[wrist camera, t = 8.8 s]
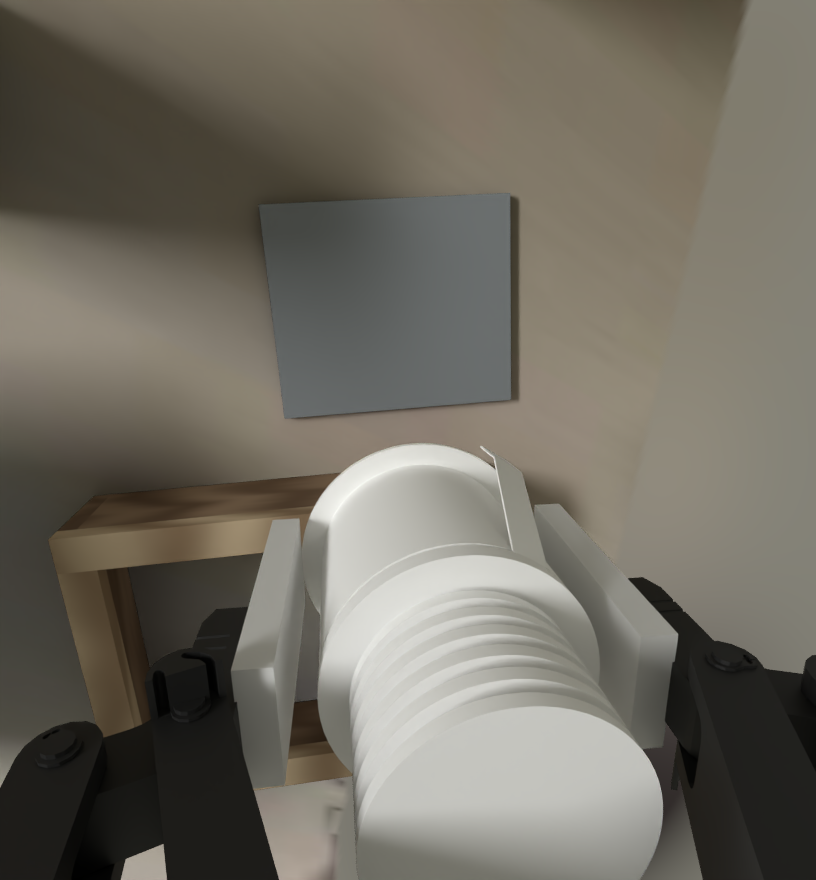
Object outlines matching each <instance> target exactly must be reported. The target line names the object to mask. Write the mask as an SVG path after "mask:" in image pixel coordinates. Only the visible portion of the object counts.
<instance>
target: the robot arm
mask: <svg viewBox="0 0 816 880" xmlns="http://www.w3.org/2000/svg"><path fill="white" fill-rule="evenodd" d="M534 519H535V523H536V526H537V530H538V534H539V538H540V541H541V545H542V549H543V553H544V556H545V560H546V562H547V564H548V565H549V566H550V567H551V569H552V570H553V571H554V572H555V574H556V575H557V576H558V577H559V579H560V580H561V581H562V582H563V584H564V585H565V586H566V587H567V589H568V590H569V591H570V592H571V593H572V595H573V596H574V597H575V598H576V599H577V601H578V602H579V603H580V605H581V606H582V608H583V609H584V611H585V612H586V614H587V616H588V618H589V620H590V622H591V624H592V627H593V629H594V632H595V635H596V639H597V643H598V648H599V656H600V674H599V683H598V686H599V687H600V689H601V690H602V691H603V693H604V694H605V696H606V697H607V699H608V700H609V702H610V703H611V705H612V706H613V708H614V709H615V711H616V712H617V713H618V715H619V716H620V718H621V719H622V721H623V722H624V724H625V725H626V727H627V728H628V729H629V731H630V733H631V734H632V736H633V737H634V738H635V740H636V741H637V743H638V744H639V746H640V747H641V749H648V748H658V747H663V742H664V735H665V727H666V723H667V725H668V726H669V728H670V729H671V730H672V732H673V733H674V735H675V736H676V737H677V739H678V740H677V747H676V753H675V760H674V767H673V774H672V782H671V789H674V790H677V787H678V781H679V780H680V781H681V785H682V790H683V794H684V798H685V803H686V807H687V812H688V816H689V820H690V825H691V829H692V834H693V838H694V842H695V846H696V851H697V855H698V860H699V864H700V868H701V873H702V877H703V880H816V655H812V656H811V657H809V658H808V659H807V660H806V662H805V667H804V671H803V674H798V673H791V672H783V671H776V670H769V669H764V667H763V666H762V664H761V663H760V662H759V661H758V659H757V658H756V657H755V656H753V655H752V654H750V653H749V652H747V651H746V650H744V649H742V648H739V647H737V646H735V645H732V644H728V643H724V642H720V641H714V640H712V638H710V636H709V635H708V634H706V632H705V631H704V630H703V629H702V628H701V627H700V626H699V625H698V624H697V623H696V622H695V621H694V620H693V619H692V618H691V617H690V616H689V615H688V614H687V613H686V612H683V610H682V608H681V607H680V606H679V605H678V604H677V603H676V602H673V599H672V598H671V597H670V596H669V595H668V594H667V593H666V592H665V591H664V590H663V589H662V588H661V587H659V586H657V585H656V584H654V583H652V582H650V581H648V580H647V579H644V578H643V577H641V578H627V577H626V576H625V575H624V574H623V573H622V572H621V571H620V570H619V569H618V568H617V566H616V565H615V564H614V563H613V562H612V561H611V560H610V559H609V558H608V557H607V556H606V554H605V553H604V552H603V551H602V550H601V549H600V548H599V547H598V546H597V545H596V543H595V542H594V541H593V540H592V539H591V538H590V537H589V536H588V535H587V534H586V533H585V531H584V530H583V529H582V528H581V527H580V526H579V525H578V524H577V523H576V522H575V521H574V519H573V518H572V517H571V516H570V515H569V514H568V513H567V512H566V511H565V510H564V508H563V507H562V506H561V505H560V504H541V505H535V507H534ZM305 602H306V600H305V587H304V573H303V560H302V547H301V534H300V520H299V518H298V519H281V520H273V521H272V525H271V528H270V532H269V535H268V539H267V543H266V546H265V550H264V553H263V557H262V560H261V564H260V568H259V571H258V575H257V578H256V582H255V586H254V589H253V593H252V596H251V600H250V603H249V607H242V608H228V609H216V610H215V611H214V612H213V613H212V614H211V615H210V616H209V617H208V618H207V619H206V620H205V621H204V622H203V623H202V625H201V628H200V630H199V633H198V635H197V640H195V643H194V645H193V648H189V649H183V650H179V651H176V652H174V653H171V654H169V655H166V656H165V657H163V658H162V659H160V660H159V661H157V662H156V663H154V665H153V666H152V667H151V668H150V670H149V671H148V672H147V674H146V678H145V688H146V693H147V699H148V705H149V711H150V716H151V720H149V721H147V722H145V723H144V724H142V725H139V726H137V727H134V728H132V729H129V730H126V731H123V732H120V733H116V734H113V735H110V736H107V737H103V733H102V731H101V730H100V728H99V727H98V726H97V725H95V724H92V723H90V722H87V721H84V722H70V723H66V724H63V725H59V726H55V727H53V728H51V729H50V730H48V731H46V732H44V733H42V734H40V735H38V736H37V737H36V738H34V739H33V740H32V741H31V742H29V743H28V744H27V745H25V747H24V748H23V749H22V750H21V752H20V753H19V754H18V756H17V757H16V758H15V760H14V762H13V764H12V766H11V768H10V770H9V772H8V774H7V776H6V778H5V780H4V781H3V783H2V785H1V787H0V880H121V876H122V872H123V867H124V863H125V859H127V858H129V857H132V856H134V855H137V854H139V853H142V852H144V851H147V850H149V849H152V848H154V847H157V846H159V845H161V844H164V853H165V863H166V873H167V880H279V878H278V875H277V871H276V868H275V864H274V860H273V857H272V853H271V850H270V846H269V843H268V839H267V836H266V832H265V829H264V825H263V822H262V818H261V815H260V811H259V808H258V804H257V801H256V797H255V794H254V790H253V789H256V788H266V787H276V786H285V780H286V771H287V762H288V753H289V744H290V735H291V726H292V717H293V708H294V700H295V691H296V682H297V673H298V664H299V655H300V646H301V637H302V628H303V619H304V611H305Z"/></svg>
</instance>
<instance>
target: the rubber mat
mask: <svg viewBox="0 0 816 880" xmlns="http://www.w3.org/2000/svg"><path fill="white" fill-rule="evenodd" d="M259 212H260V220H261V228H262V237H263V245H264V253H265V261H266V269H267V278H268V286H269V294H270V302H271V311H272V319H273V327H274V335H275V344H276V352H277V360H278V368H279V377H280V385H281V393H282V401H283V409H284V418H285V419H286V418H298V417H310V416H322V415H334V414H346V413H358V412H370V411H382V410H394V409H406V408H418V407H430V406H442V405H454V404H466V403H478V402H490V401H502V400H511V275H510V193H497V194H475V195H454V196H432V197H410V198H389V199H367V200H346V201H324V202H302V203H281V204H259Z"/></svg>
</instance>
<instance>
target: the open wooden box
mask: <svg viewBox="0 0 816 880" xmlns="http://www.w3.org/2000/svg"><path fill="white" fill-rule="evenodd" d="M340 474H341V473H335V474H324V475H313V476H303V477H292V478H281V479H271V480H260V481H249V482H239V483H228V484H217V485H206V486H196V487H185V488H174V489H164V490H153V491H142V492H132V493H121V494H110V495H100V496H94V497H93V498H92V499H90V500H89V501H88V502H87V503H86V504H85V505H84V506H83V507H82V508H81V509H80V510H79V511H78V512H77V513H76V514H75V515H74V516H73V517H72V518H70V519H69V520H68V521H67V522H66V523H65V524H64V525H63V526H62V527H61V528H60V529H59V530H58V531H57V532H56V533H55V534H54V535H53V536H52V537H50V538H49V539H48V542H49V546H50V550H51V554H52V557H53V561H54V565H55V569H56V573H57V577H58V580H59V584H60V588H61V592H62V596H63V600H64V603H65V607H66V611H67V615H68V619H69V623H70V626H71V630H72V634H73V638H74V642H75V646H76V649H77V653H78V657H79V661H80V665H81V669H82V672H83V676H84V680H85V684H86V688H87V692H88V695H89V699H90V703H91V707H92V711H93V715H94V718H95V722H96V725H97V726H98V727H99V728H100V730H101V731H102V733H103V737H107V736H110V735H113V734H116V733H120V732H123V731H126V730H129V729H132V728H134V727H137V726H139V725H142V724H144V723H145V722H147V721H149V720H151V716H150V711H149V705H148V699H147V693H146V688H145V678H146V674H147V672H148V671H149V670H150V668H149V664H148V659H147V655H146V650H145V646H144V641H143V636H142V632H141V627H140V623H139V618H138V614H137V609H136V605H135V600H134V596H133V591H132V586H131V582H130V577H129V573H128V568H127V567H133V566H142V565H152V564H161V563H171V562H180V561H189V560H199V559H208V558H218V557H227V556H237V555H246V554H255V553H264V550H265V546H266V543H267V539H268V535H269V532H270V528H271V525H272V521H273V520H281V519H298V518H299V520H300V534H301V547H302V544H303V538H304V533H305V529H306V525H307V522H308V520H309V517H310V514H311V512H312V510H313V508H314V506H315V504H316V503H317V501H318V499H319V498H320V496H321V495H322V493H323V492H324V491H325V490H326V488H327V487H328V486H329V485H330V484H331V483H332V482H333V480H334V479H335V478H336V477H337V476H339V475H340ZM349 776H353V775H352V773H351V772H350V771H349V770H348V769H347V768H346V767H345V766H344V765H343V763H342V762H341V761H340V760H339V758H338V757H337V756H336V754H335V753H334V751H333V750H332V748H331V746H330V744H329V743H328V740H327V738H326V736H325V733H324V731H323V728H322V724H321V721H320V716H319V710H318V700H312V701H304V702H297V703H294V708H293V717H292V726H291V735H290V744H289V753H288V762H287V771H286V780H285V786H288V785H295V784H301V783H308V782H315V781H322V780H329V779H336V778H342V777H349ZM276 787H281V786H276ZM267 788H274V787H266V788H256V789H253V790H261V789H267Z"/></svg>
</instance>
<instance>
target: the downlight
mask: <svg viewBox="0 0 816 880" xmlns="http://www.w3.org/2000/svg"><path fill="white" fill-rule="evenodd" d="M480 448H482V449H483V450H484V451H485V452H486V453H488V454H489V455H490V456H491V457H493V458H494V463H495V468H496V470H495V469H494V468H493V467H492V466H490V465H489V464H488V463H487V462H485V461H483V460H482V459H480V458H479V457H477V456H475V455H473V454H471V453H469V452H466V451H464V450H461V449H458V448H455V447H451V446H447V445H441V444H434V443H410V444H403V445H398V446H393V447H389V448H386V449H383V450H380V451H377V452H375V453H373V454H370V455H368V456H366V457H364V458H362V459H361V460H359V461H357V462H355V463H354V464H353V465H351V466H350V467H348V468H347V469H346V470H344V471H343V472H342V473H341V474H340V475H339V476H337V477H336V478H335V479H334V480H333V482H332V483H331V484H330V485H329V486H328V487H327V488H326V490H325V491H324V492H323V493H322V495H321V496H320V498H319V499H318V501H317V503H316V504H315V506H314V508H313V510H312V512H311V514H310V517H309V520H308V522H307V525H306V529H305V533H304V538H303V544H302V560H303V573H304V581H305V585H306V588H307V591H308V594H309V596H310V599H311V601H312V602H313V604H314V606H315V608H316V609H317V611H318V612H319V614H320V640H319V670H318V693H317V697H318V710H319V716H320V721H321V724H322V728H323V731H324V733H325V736H326V738H327V740H328V743H329V744H330V746H331V748H332V750H333V751H334V753H335V754H336V756H337V757H338V758H339V760H340V761H341V762H342V763H343V765H344V766H345V767H346V768H347V769H348V770H349V771H350V772H351V773H352V775H353V798H354V820H355V834H356V837H355V840H356V864H357V873H358V879H359V880H640V879H641V877H642V876H643V874H644V872H645V871H646V868H647V867H648V865H649V863H650V861H651V859H652V857H653V855H654V852H655V850H656V847H657V844H658V840H659V837H660V832H661V827H662V818H663V801H662V793H661V788H660V784H659V780H658V778H657V775H656V772H655V770H654V768H653V766H652V764H651V763H650V760H649V759H648V757H647V756H646V754H645V753H644V751H643V750H642V749H641V747H640V746H639V744H638V743H637V741H636V740H635V738H634V737H633V736H632V734H631V733H630V731H629V729H628V728H627V727H626V725H625V724H624V722H623V721H622V719H621V718H620V716H619V715H618V713H617V712H616V711H615V709H614V708H613V706H612V705H611V703H610V702H609V700H608V699H607V697H606V696H605V694H604V693H603V691H602V690H601V689H600V687H599V686H598V683H599V674H600V656H599V648H598V643H597V639H596V635H595V632H594V629H593V627H592V624H591V622H590V620H589V618H588V616H587V614H586V612H585V611H584V609H583V608H582V606H581V605H580V603H579V602H578V601H577V599H576V598H575V597H574V596H573V595H572V593H571V592H570V591H569V590H568V589H567V587H566V586H565V585H564V584H563V582H562V581H561V580H560V579H559V577H558V576H557V575H556V574H555V572H554V571H553V570H552V569H551V567H550V566H549V565H548V564H547V562H546V560H545V556H544V553H543V549H542V545H541V541H540V538H539V534H538V530H537V526H536V523H535V519H534V515H533V512H532V508H531V504H530V500H529V497H528V493H527V489H526V485H525V482H524V478H523V474H522V472H521V471H520V470H519V469H517V468H516V467H515V466H513V465H512V464H511V463H510V462H508V461H507V460H506V459H504V458H502V457H500V456H498V455H497V454H495V453H493V452H491V451H489V450H488V449H486V448H484V447H482V446H480Z"/></svg>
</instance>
